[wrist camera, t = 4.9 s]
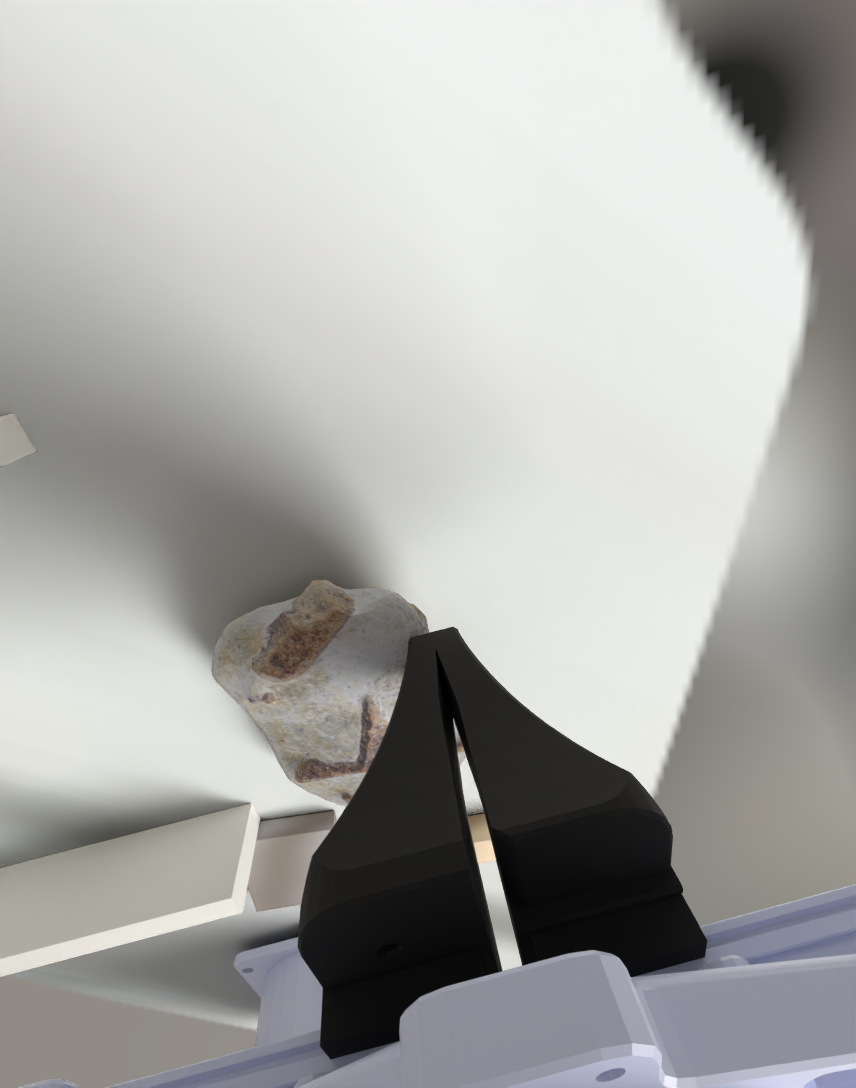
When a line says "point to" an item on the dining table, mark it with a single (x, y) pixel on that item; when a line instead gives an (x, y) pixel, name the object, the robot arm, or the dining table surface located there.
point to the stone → (322, 679)
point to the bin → (120, 869)
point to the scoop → (291, 849)
